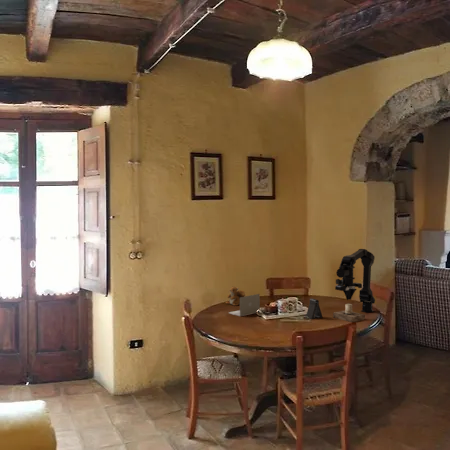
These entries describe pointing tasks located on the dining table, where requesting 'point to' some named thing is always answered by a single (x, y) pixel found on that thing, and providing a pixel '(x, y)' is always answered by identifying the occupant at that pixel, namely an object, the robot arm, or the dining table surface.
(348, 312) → the birch peg
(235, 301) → the stuffed squirrel
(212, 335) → the dining table surface
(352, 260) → the robot arm
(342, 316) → the walnut board
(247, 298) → the laptop
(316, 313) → the phone stand
